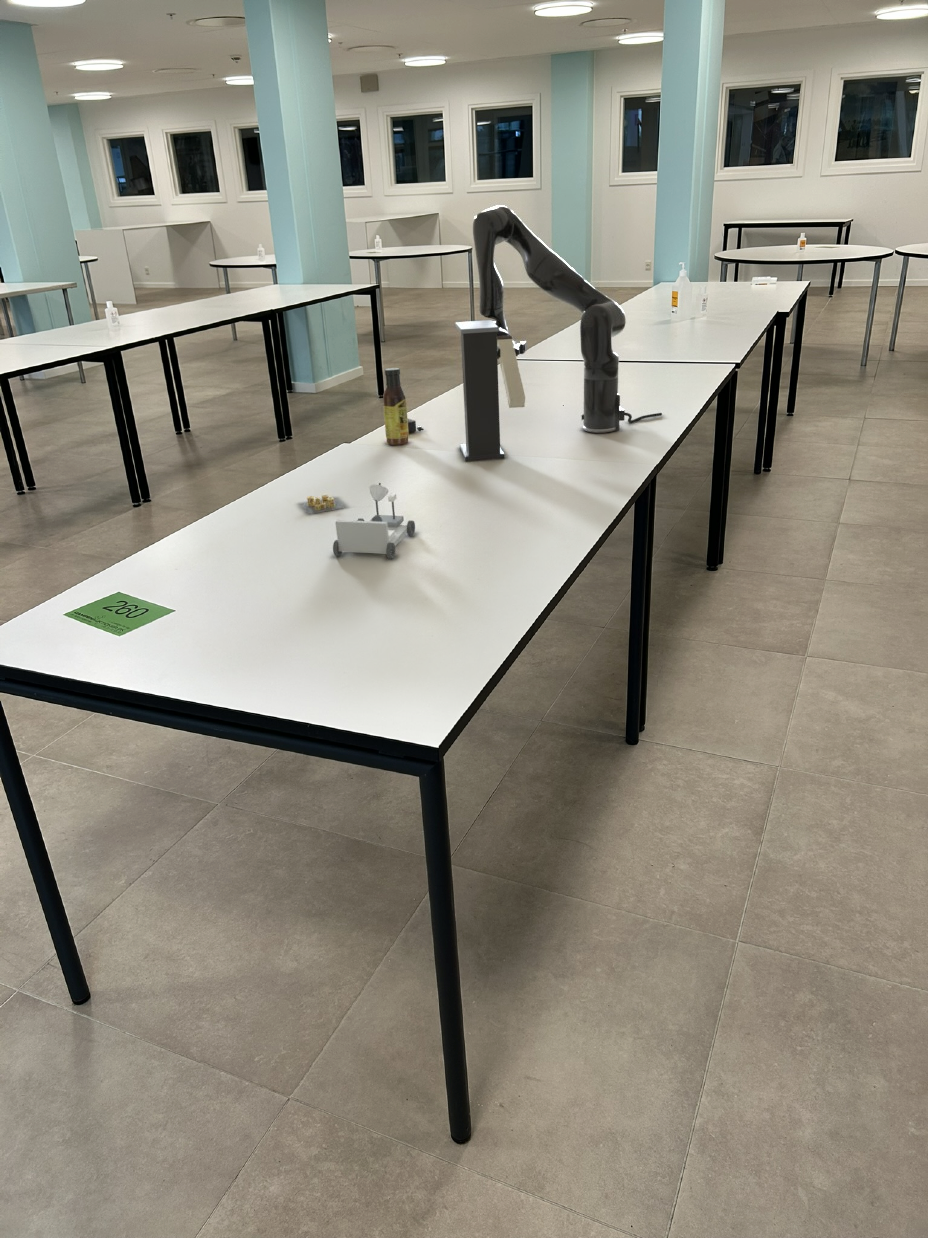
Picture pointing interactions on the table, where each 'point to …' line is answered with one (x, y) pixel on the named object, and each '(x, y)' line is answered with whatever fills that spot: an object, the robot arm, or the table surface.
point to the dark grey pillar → (480, 390)
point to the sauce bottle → (395, 409)
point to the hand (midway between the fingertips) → (507, 352)
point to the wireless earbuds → (413, 426)
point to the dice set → (321, 504)
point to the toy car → (372, 530)
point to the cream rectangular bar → (510, 372)
